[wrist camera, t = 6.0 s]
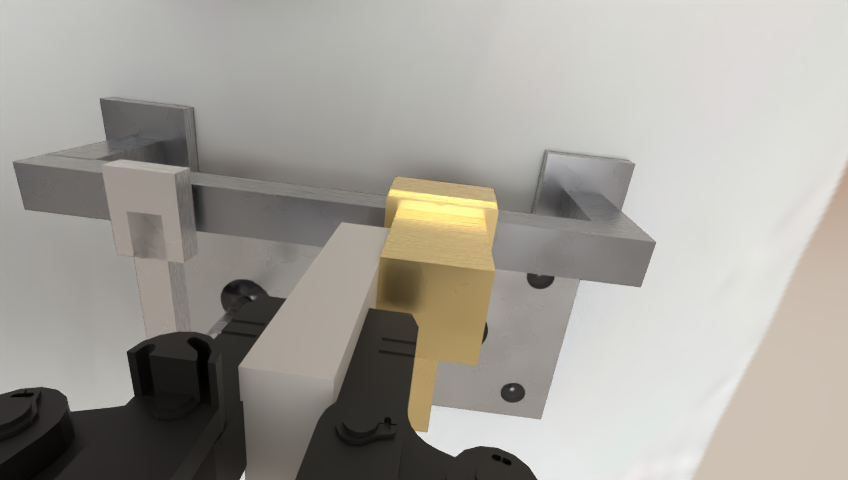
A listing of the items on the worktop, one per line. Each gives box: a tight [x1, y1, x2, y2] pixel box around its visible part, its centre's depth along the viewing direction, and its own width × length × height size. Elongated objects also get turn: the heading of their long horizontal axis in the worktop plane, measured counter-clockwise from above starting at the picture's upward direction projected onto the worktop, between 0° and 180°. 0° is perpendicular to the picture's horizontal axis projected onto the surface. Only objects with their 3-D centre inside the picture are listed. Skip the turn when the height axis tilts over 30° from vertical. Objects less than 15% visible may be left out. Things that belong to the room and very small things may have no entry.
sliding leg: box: [376, 176, 499, 432], centre depth 17 cm, size 4×10×10 cm, turn 174°
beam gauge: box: [13, 98, 656, 340], centre depth 19 cm, size 25×10×8 cm, turn 84°
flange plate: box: [184, 231, 580, 419], centre depth 24 cm, size 23×11×1 cm, turn 84°
